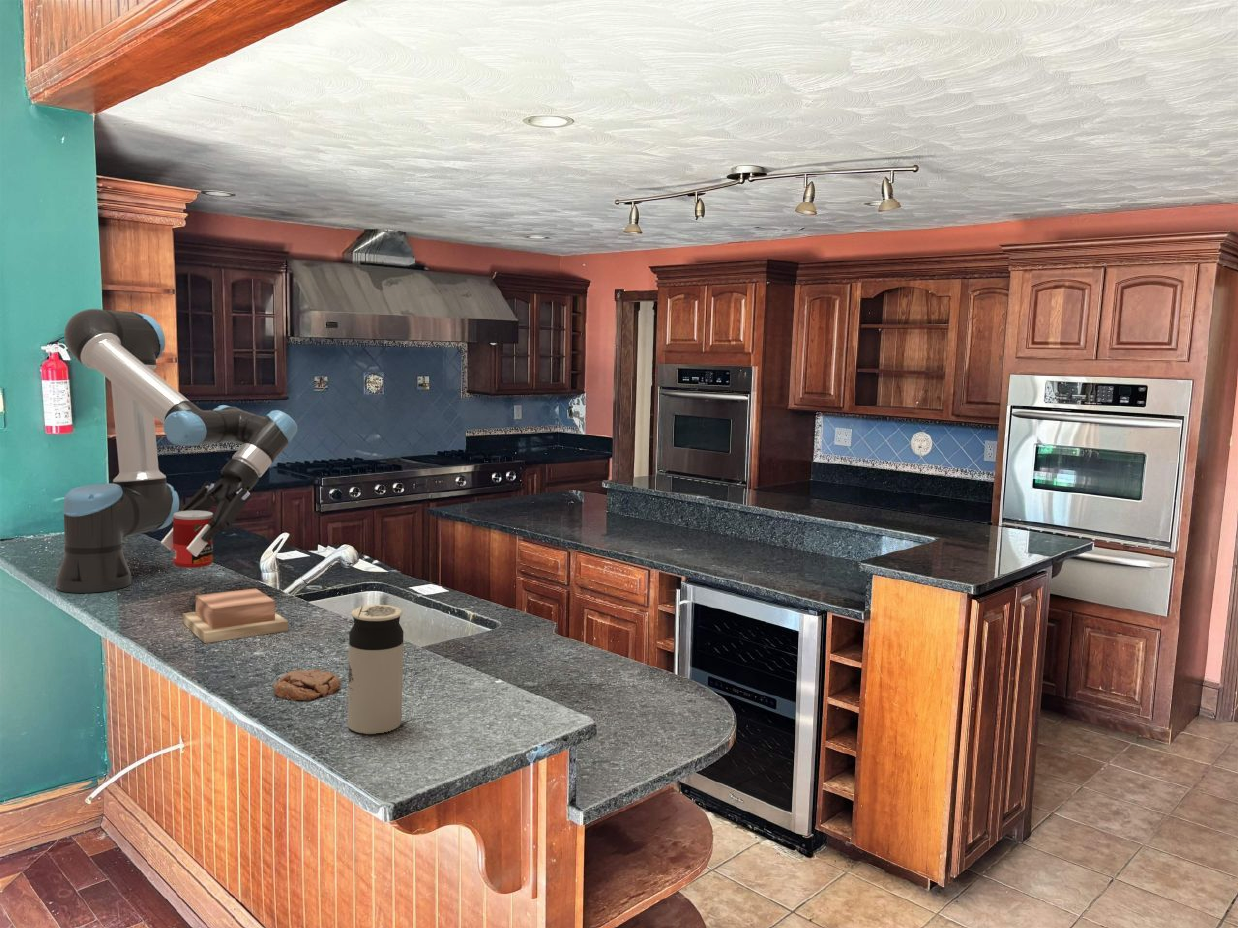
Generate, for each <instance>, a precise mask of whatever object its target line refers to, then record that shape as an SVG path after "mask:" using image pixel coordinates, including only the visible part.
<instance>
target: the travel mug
mask: <svg viewBox="0 0 1238 928" xmlns="http://www.w3.org/2000/svg"><path fill="white" fill-rule="evenodd" d="M350 613H351V614H350V615H351V616H352V618H353V625H352V627H351V629H350V631H349V634H348V635H349V636H348V641H349V642H348V644H349V645H348V685H347V686H348V693H347V695H348V697H347V727H348V728H349V729H350V730H351V731H353V732H356V733H358V734H362V733H363V734H364V735H377V734H376V733H382V734H385V733H384V732H386V733H389V732H392V731H393V730H396V729H397V728H399V727H400V726H401V725H402V718H403V717H402V716H403V713H402V712H403V711H402V709H403V677H404V676H403V675H404V674H403V672H404V671H403V670H404V669H403V667H404V665H403V664H404V661H403V660H404V633H405V632H404V629H403V627H402V625H401V623H400V620H401V616H402V615H403V610H402V609H401V608H399V607H397V606H392V605H387V604H386V605H385V604H373V605H371V604H370V605H363V606H359V607H357V608H354V609H353V610H352V611H351V612H350ZM391 730H392V731H391ZM388 731H389V732H388Z"/></svg>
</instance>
